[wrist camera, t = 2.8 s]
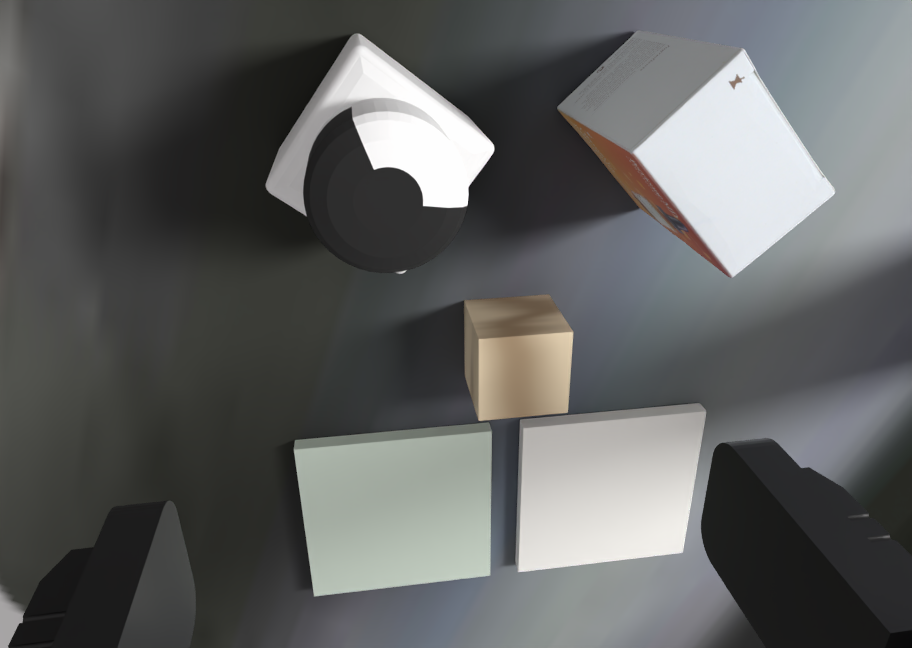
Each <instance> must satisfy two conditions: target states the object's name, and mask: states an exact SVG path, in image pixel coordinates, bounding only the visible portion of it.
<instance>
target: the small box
mask: <svg viewBox="0 0 912 648" xmlns="http://www.w3.org/2000/svg"><path fill="white" fill-rule="evenodd" d="M557 109H558V111H559V112H560V113H561V114H562V116H563V117H564V118H565V119H566V120H567V121H568V122H569V123H570V125H571V126H572V127H573V128H574V129H575V130H576V131H577V132H578V134H579V135H580V136H581V137H582V138H583V139H584V141H585V142H586V143H587V144H588V145H589V147H590V148H591V149H592V150H593V151H594V153H595V154H596V155H597V156H598V158H599V159H600V160H601V161H602V163H603V164H604V165H605V166H606V168H607V169H608V170H609V171H610V173H611V174H612V175H613V176H614V177H615V179H616V180H617V181H618V182H619V183H620V185H621V186H622V187H623V188H624V190H625V191H626V192H627V193H628V194H629V196H630V197H631V198H632V199H633V201H634V202H635V203H636V204H637V205H638V207H639V208H640V209H642V210H643V211H644V212H646V213H647V214H649V215H650V216H651V217H653V218H654V219H655V220H656V221H658V222H659V223H660V224H661V225H663V226H664V227H665V228H666V229H668V230H669V231H670V232H672V233H673V234H674V235H676V236H677V237H678V238H680V239H681V240H682V241H684V242H685V243H686V244H687V245H689V246H690V247H691V248H692V249H694V250H695V251H696V252H697V253H699V254H700V255H701V256H702V257H704V258H705V259H706V260H708V261H709V262H710V263H712V264H713V265H714V266H715V267H717V268H718V269H719V270H721V271H722V272H723V273H724V274H726V275H727V276H728V277H730V278H732V277H734V276H735V275H736V274H737V273H739V272H740V271H741V270H743V269H744V268H745V267H746V266H748V265H749V264H750V263H751V262H753V261H754V260H755V259H756V258H757V257H759V256H760V255H761V254H762V253H763V252H765V251H766V250H767V249H768V248H770V247H771V246H772V245H773V244H774V243H776V242H777V241H778V240H779V239H781V238H782V237H783V236H784V235H785V234H787V233H788V232H789V231H790V230H791V229H793V228H794V227H795V226H796V225H798V224H799V223H800V222H801V221H802V220H804V219H805V218H806V217H807V216H808V215H810V214H811V213H812V212H813V211H815V210H816V209H817V208H818V207H819V206H821V205H822V204H823V203H824V202H826V201H827V200H828V199H829V198H831V197H832V196H833V195H834V194H835V189H834V188H833V186H832V185H831V184H830V183H829V181H828V180H827V178H826V177H825V176H824V175H823V173H822V172H821V170H820V169H819V168H818V166H817V165H816V163H815V162H814V160H813V159H812V157H811V156H810V154H809V153H808V151H807V150H806V148H805V147H804V145H803V144H802V142H801V141H800V139H799V138H798V136H797V134H796V133H795V132H794V130H793V128H792V127H791V125H790V124H789V122H788V121H787V119H786V118H785V116H784V115H783V113H782V111H781V110H780V108H779V107H778V105H777V104H776V102H775V101H774V99H773V97H772V96H771V95H770V93H769V91H768V89H767V88H766V86H765V85H764V83H763V81H762V80H761V78H760V77H759V75H758V73H757V71H756V69H755V67H754V65H753V64H752V62H751V60H750V58H749V57H748V55H747V53H746V51H745V50H744V49H743V48H736V47H731V46H725V45H720V44H714V43H708V42H702V41H697V40H691V39H686V38H680V37H674V36H669V35H663V34H657V33H651V32H645V31H639V30H638V31H636V32H635V33H634V34H633V35H632V36H631V37H630V38H629V39H628V40H627V41H626V42H625V43H624V44H623V45H622V46H621V47H620V48H619V49H618V50H617V51H616V52H614V53H613V54H612V55H611V56H610V57H609V58H608V59H607V60H606V61H605V62H604V63H603V64H602V65H601V66H600V67H599V68H598V69H596V70H595V71H594V72H593V73H592V74H591V75H590V76H589V77H588V78H587V79H586V80H585V81H584V82H583V83H582V84H581V85H580V86H579V87H578V88H577V89H575V90H574V91H573V92H572V93H571V94H570V95H569V96H568V97H567V98H566V99H565V100H564V101H563V102H562V103H561V104H560V105H558V107H557Z"/></svg>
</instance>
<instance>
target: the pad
mask: <svg viewBox="0 0 912 648" xmlns="http://www.w3.org/2000/svg"><path fill="white" fill-rule="evenodd" d="M706 412H707V411H706V410H705V409H704V408H703V406H702V405H701V404H700V403H694V404H683V405H672V406H661V407H650V408H639V409H628V410H618V411H607V412H596V413H585V414H574V415H563V416H552V417H541V418H530V419H520V432H519V463H518V494H517V525H516V556H515V562H516V566H517V569H518V572H524V571H532V570H541V569H549V568H558V567H566V566H575V565H583V564H592V563H600V562H608V561H617V560H625V559H634V558H642V557H651V556H659V555H668V554H676V553H683V547H684V541H685V536H686V530H687V524H688V518H689V512H690V506H691V500H692V494H693V488H694V483H695V477H696V471H697V465H698V459H699V453H700V447H701V441H702V435H703V430H704V424H705V418H706Z"/></svg>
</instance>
